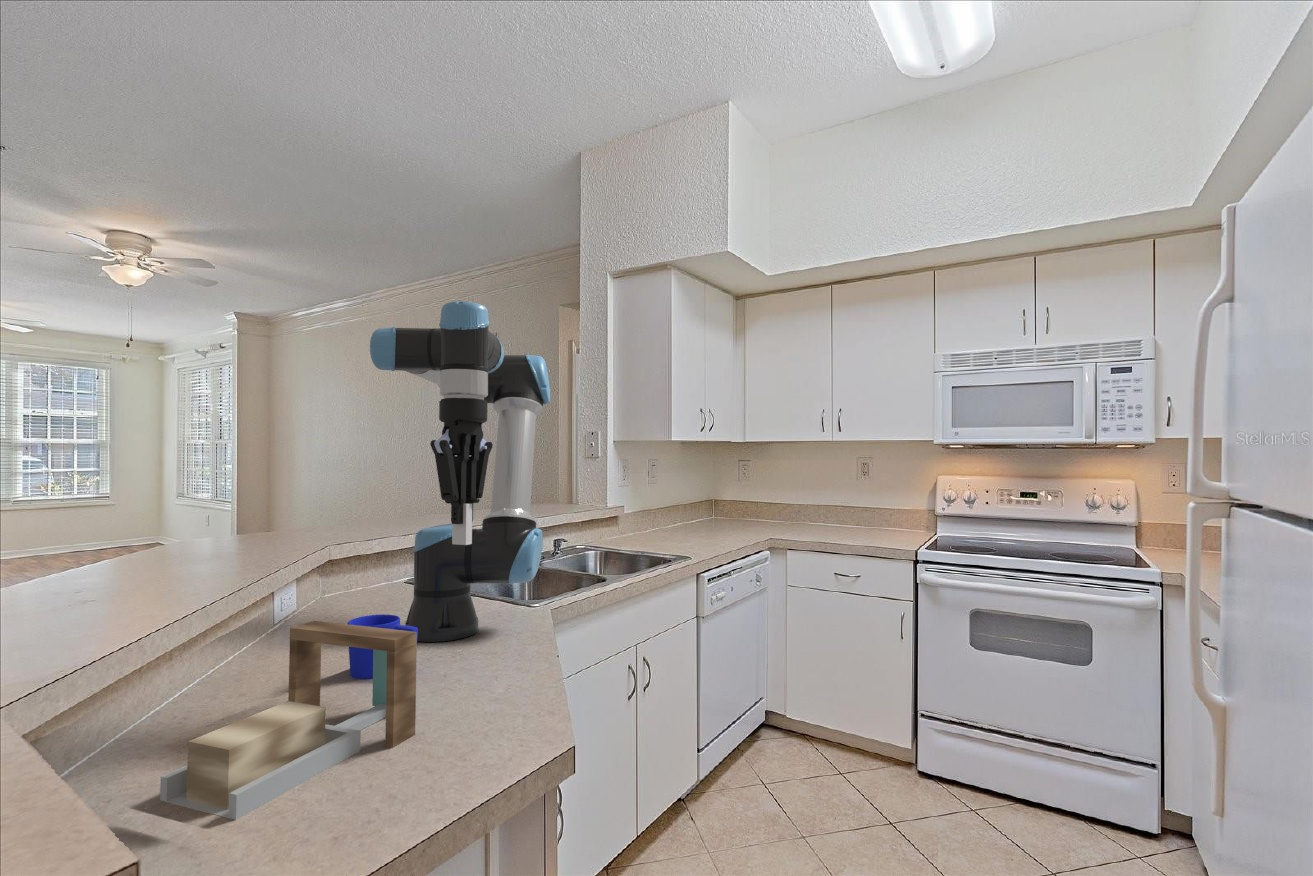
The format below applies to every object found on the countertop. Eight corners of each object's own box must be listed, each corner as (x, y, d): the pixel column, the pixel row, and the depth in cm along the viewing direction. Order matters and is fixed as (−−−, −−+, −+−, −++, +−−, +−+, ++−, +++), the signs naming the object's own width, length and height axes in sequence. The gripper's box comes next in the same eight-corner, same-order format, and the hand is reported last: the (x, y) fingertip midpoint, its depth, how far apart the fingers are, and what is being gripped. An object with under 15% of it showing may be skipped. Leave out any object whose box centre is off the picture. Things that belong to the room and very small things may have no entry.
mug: (401, 692, 101) (402, 628, 102) (334, 686, 104) (336, 624, 104) (429, 675, 109) (430, 616, 110) (367, 670, 112) (368, 613, 112)
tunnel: (312, 726, 88) (315, 620, 89) (415, 744, 83) (416, 632, 83) (287, 737, 85) (290, 627, 85) (392, 758, 79) (394, 640, 79)
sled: (361, 710, 93) (363, 644, 93) (423, 720, 89) (425, 652, 89) (159, 807, 66) (162, 715, 67) (235, 828, 63) (238, 730, 63)
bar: (286, 750, 78) (288, 701, 78) (324, 758, 76) (325, 707, 76) (186, 799, 67) (188, 741, 67) (227, 809, 65) (229, 750, 65)
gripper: (470, 402, 111) (468, 538, 110) (416, 395, 99) (414, 548, 98) (506, 401, 108) (505, 540, 107) (456, 393, 96) (454, 550, 95)
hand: (461, 543), depth 102 cm, fingers closed
